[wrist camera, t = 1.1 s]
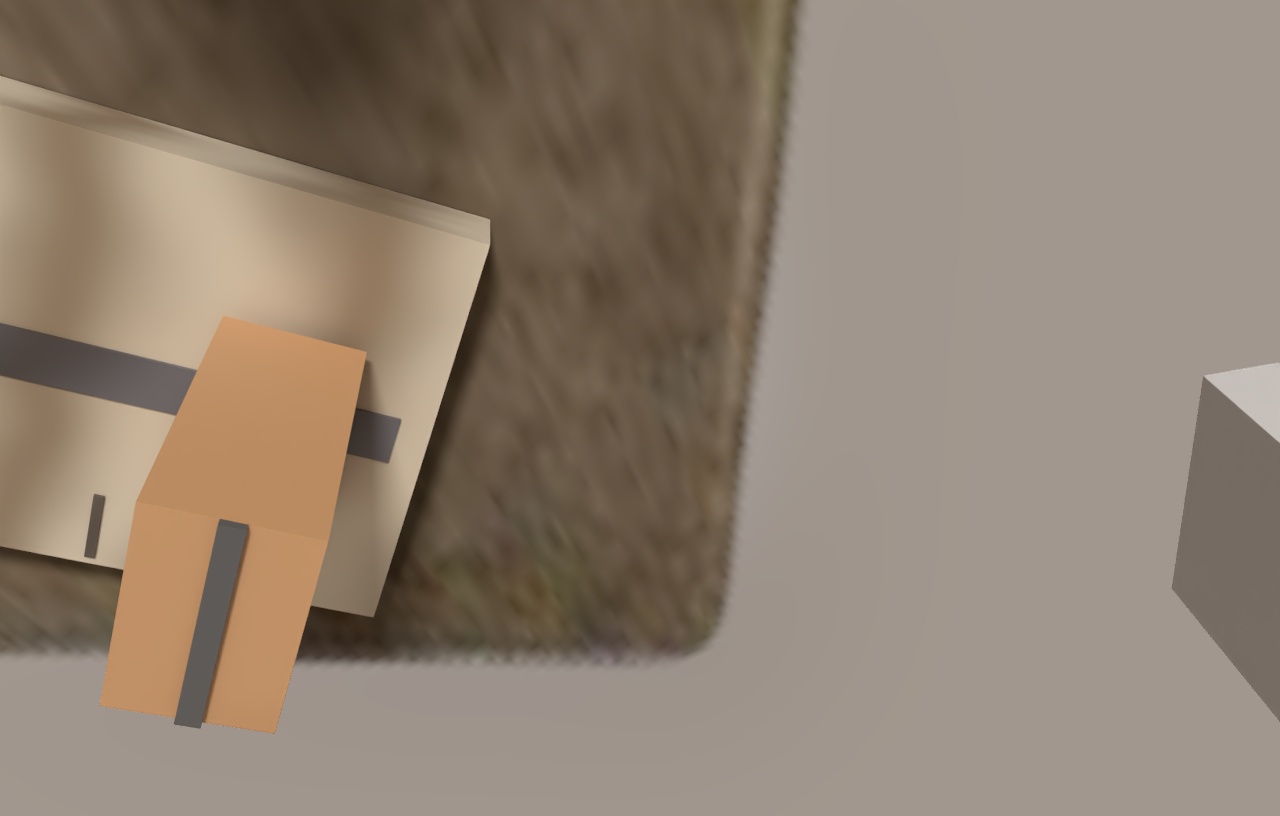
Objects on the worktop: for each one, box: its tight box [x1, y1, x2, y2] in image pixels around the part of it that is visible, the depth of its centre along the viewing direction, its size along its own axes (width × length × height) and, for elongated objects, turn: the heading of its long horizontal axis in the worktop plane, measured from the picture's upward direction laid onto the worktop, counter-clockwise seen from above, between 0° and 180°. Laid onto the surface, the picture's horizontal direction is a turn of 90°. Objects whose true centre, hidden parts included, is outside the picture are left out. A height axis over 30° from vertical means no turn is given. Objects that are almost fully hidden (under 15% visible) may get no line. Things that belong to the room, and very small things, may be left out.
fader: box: [100, 316, 367, 734], centre depth 29 cm, size 4×6×9 cm, turn 160°
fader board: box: [0, 76, 490, 617], centre depth 33 cm, size 23×14×2 cm, turn 70°
